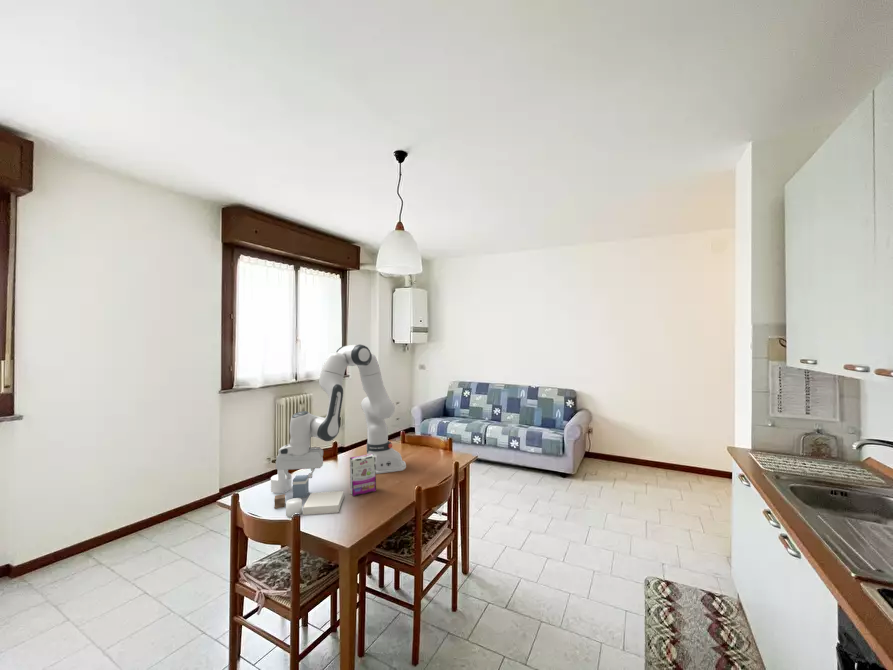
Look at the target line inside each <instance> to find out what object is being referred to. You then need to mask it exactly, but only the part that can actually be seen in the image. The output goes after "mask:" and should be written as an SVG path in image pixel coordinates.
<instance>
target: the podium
mask: <svg viewBox="0 0 893 670" xmlns="http://www.w3.org/2000/svg"><path fill="white" fill-rule="evenodd" d="M344 495H345V491H344V490H339V491H338V490H337V491H323V492H311V493H310V495H309V496H308V498H307V499H306V501H305V503H304V504H303V505H302V515H303V516H307V515H320V514H323V515H324V514H336V513H339V512H340V509H341V507H342V503H343V500H344V497H345V496H344Z"/></svg>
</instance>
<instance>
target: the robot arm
mask: <svg viewBox="0 0 893 670" xmlns="http://www.w3.org/2000/svg"><path fill="white" fill-rule="evenodd" d="M353 366H354V367H355V366H356V367H357V368H358V371H359V376H360V381H361V386H362V390H363V392H364V393H365V394H366V397H364V398H363V399H362V400H361V403H360V407H361V409H362V412H363V415H364V418H365V419H364V420H365V424H366V429H367V435H366V436H367V442H366V455H368V454H373V455H374V456H375V465H376V475H379V474H386V473H393V472H401V471H404V470H405V469H406V468H407V464H406V462H405V461H404V460H403V458H402V455H401V453H400V452H399V451H397V450H395V449H394V448H393V444H392V441H389V440H388V439H389V434H388V433H389V431H388V430H389V429H388V428H389V427H388V425H387V422H386V421H385V420H386V419H390V418H391V417H392V416H393V415H394V413H395V407H396V406H395V404H394V403H393V401H392V400H391V399H390V396H389V395H388V392H387V390H386V388H385V385H384V382H383V378H382V373H381V368H380V365H379V362H378V360H377V357H376V355H375V354H374V353H372V352H371V351H370V349H369V347H368V346H366V345H364V344H349V345H343V346H341V347H339V348H337V350H336V351H334V352H331V353H329V354H328V356H327V357H326V359H325V361H324V364H323V365H322V369H321V372H320V375H319V377H318V380H319V381H318V385H319V387H320V388H321V390H323V391H324V392H325V394H327V396H328V406H327V409H326V411H327V412H326V416H325V417H323V416H319V415H316V414H315V415H314V414H312V413H310V412H309V411H307V410H302V411H298V412H296V413H294V414H292V415H291V417H290V423H289V435H290V439H289V443H288V444H285V445H282V446H281V447H280V448H279V449H278V451H277V452H278V455H277V456H276V460H275V469H276V470H277V471H278V470H284V473H285V474H286V476H287V479H290V478H291V475H292V473H290V472H289V470H307V469H309V470H310V473H308V474H307V475H308V478H309V479H312V478H313V473H314V472H315V470H316V469H321V468H322V467H323V466H324V458H323V456H324V450H323V448H321V447H313V446H312V447H311V438H316V439H319V440H322V441H325V442H331V441H332V440H334V439H336V438H337V436H338V434H339V432H340V428H341V427H340V420H341V419H340V418H341V417H340V416H341V410H342V406H343V405H342V404H343V398H344V388H343V382H344V381H343V380H344V377H345V372H346V369H347V368H348V367H353Z"/></svg>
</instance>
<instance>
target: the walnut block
mask: <svg viewBox="0 0 893 670" xmlns="http://www.w3.org/2000/svg"><path fill="white" fill-rule="evenodd" d="M282 508H286V494H285V493H281V494H278V495H277V494H276V495H274V509H275V510H276V509H282Z"/></svg>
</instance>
